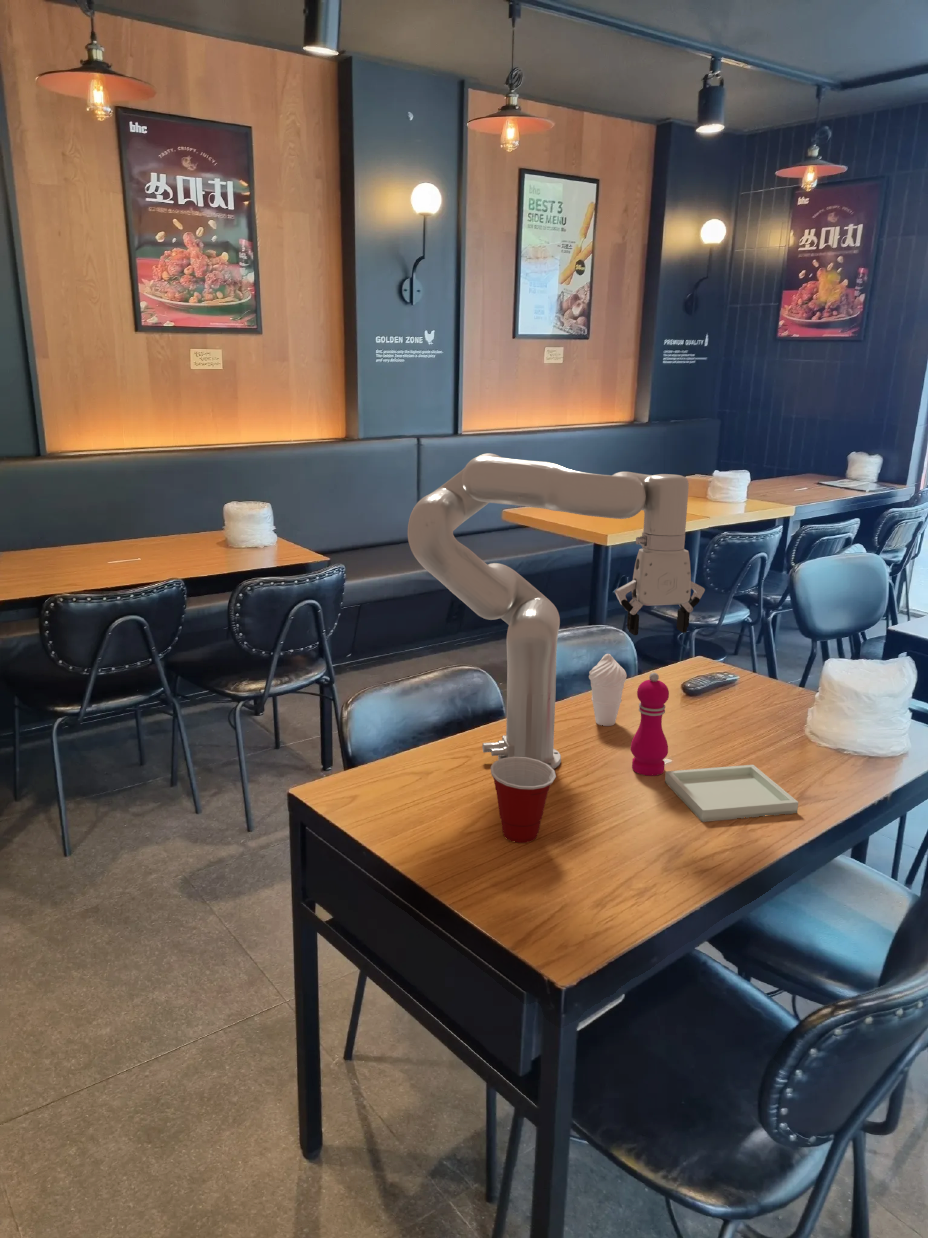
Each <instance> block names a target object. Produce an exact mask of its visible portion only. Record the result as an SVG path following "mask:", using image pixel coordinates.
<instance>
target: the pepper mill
mask: <svg viewBox="0 0 928 1238" xmlns="http://www.w3.org/2000/svg"><path fill="white" fill-rule="evenodd" d="M648 678H649V679H646V680H644V681H642V682H641V683H640V684H639V685H638V686H637V690H636V695H637V699H638V701H639V703H638V712H640V723H639V726H638V728H637V730H636V732H635V734H634V736H633V738H632V740H631V743H630V752H631V754H632V755H633V758H632V759H631V760H632V762H631V768H632V771H633V772H635V773H637V774H639V775H643V776H646V777H647V776H650V777H655V776H659V775H662V774H663V773H664V772H665V765H666V764H665V763H666V762H665V761H664V759H665V758H666V757H667V756H668V753H669V744H668V741H667V738H666V735H665V733H664V730H663V727H662V725H663V723H662V721H663V720H662V719H663V715H664V714H665V713H666V705H665V704H666V703H667V701H668V700H669V696H670V690H669V688H668V686H667V685H666V683H665V682H664V681H661V680H659V679H660V676H659V674H658V673H656V672H651V673H650V674H649V677H648Z"/></svg>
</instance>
